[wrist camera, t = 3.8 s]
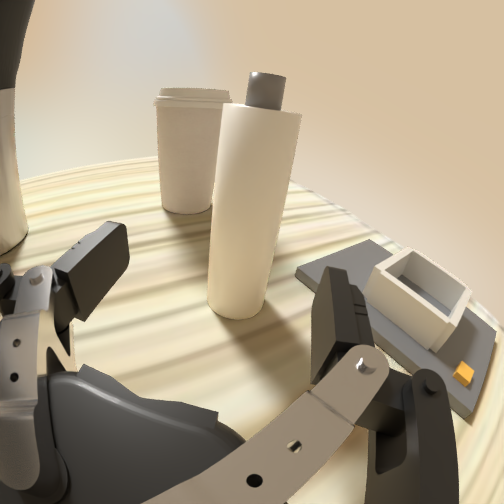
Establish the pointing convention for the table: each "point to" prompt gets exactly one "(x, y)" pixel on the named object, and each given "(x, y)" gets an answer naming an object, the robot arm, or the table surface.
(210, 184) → the coffee cup
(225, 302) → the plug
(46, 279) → the robot arm
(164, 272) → the table surface
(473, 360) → the floor socket
